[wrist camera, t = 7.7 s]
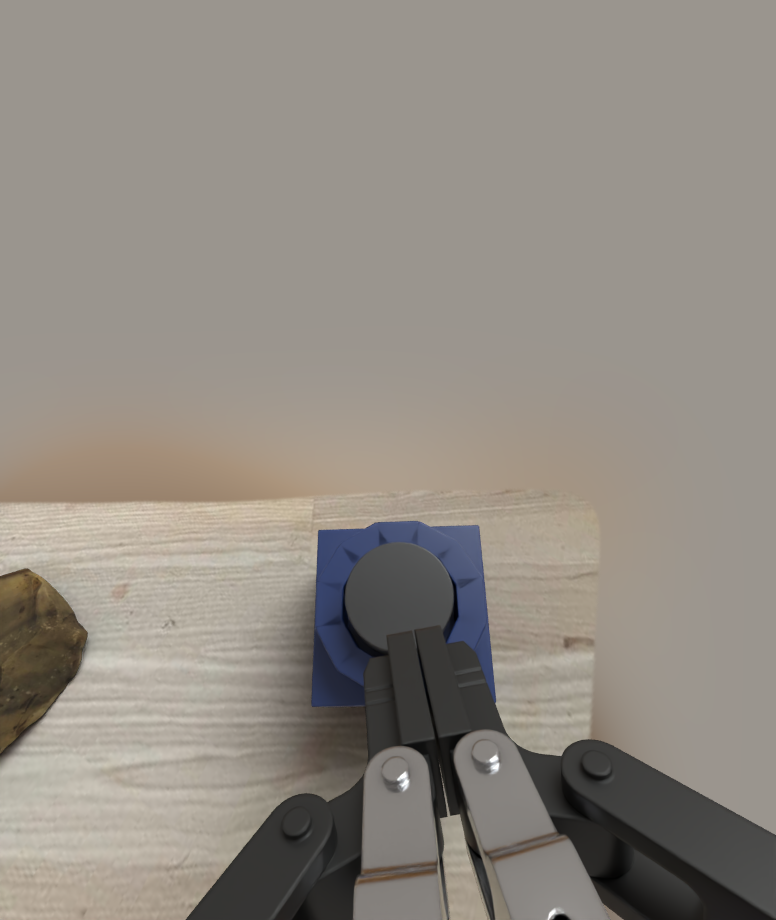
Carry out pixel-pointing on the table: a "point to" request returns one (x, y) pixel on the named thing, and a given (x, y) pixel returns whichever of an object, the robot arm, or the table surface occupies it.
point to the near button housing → (335, 637)
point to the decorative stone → (33, 650)
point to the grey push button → (397, 593)
